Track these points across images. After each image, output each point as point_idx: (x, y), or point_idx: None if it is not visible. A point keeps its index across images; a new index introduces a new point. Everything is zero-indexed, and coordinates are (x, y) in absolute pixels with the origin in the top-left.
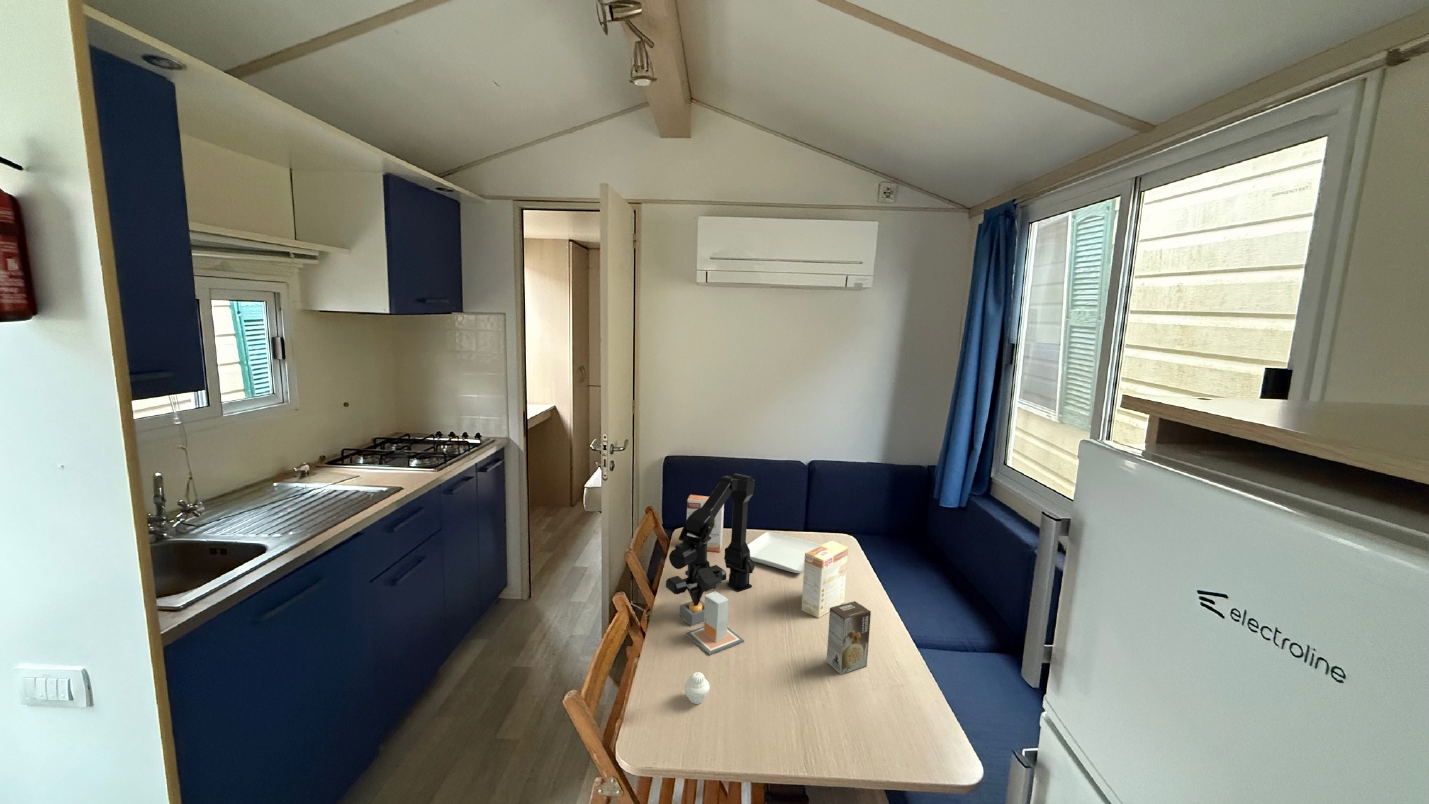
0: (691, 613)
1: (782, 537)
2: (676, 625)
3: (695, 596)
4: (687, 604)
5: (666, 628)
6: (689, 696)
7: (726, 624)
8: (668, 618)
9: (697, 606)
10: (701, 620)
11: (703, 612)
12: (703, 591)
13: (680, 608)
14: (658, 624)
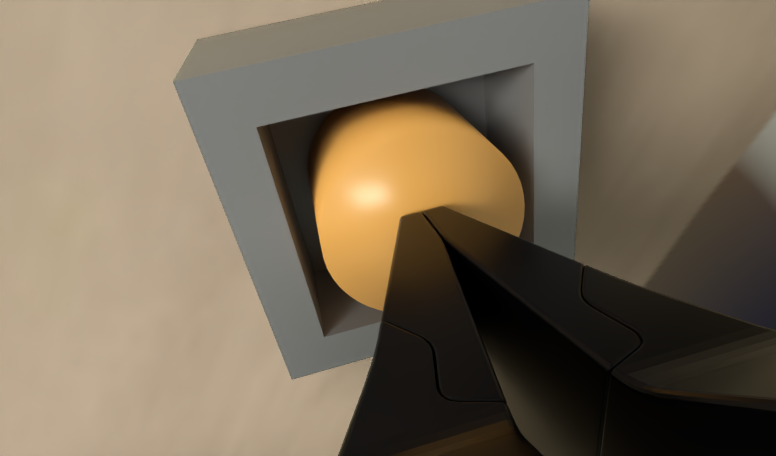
0: (568, 55)
1: None
2: (635, 65)
3: (584, 285)
4: None
5: (745, 45)
6: None
7: None
8: (620, 209)
9: (421, 185)
10: (365, 11)
11: (357, 35)
12: (367, 408)
13: None
14: (749, 141)
